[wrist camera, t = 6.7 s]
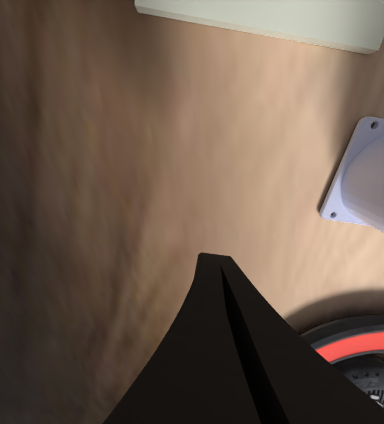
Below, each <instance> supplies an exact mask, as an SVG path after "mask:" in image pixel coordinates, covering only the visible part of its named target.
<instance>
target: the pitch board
mask: <svg viewBox="0 0 384 424" xmlns="http://www.w3.org/2000/svg"><path fill="white" fill-rule="evenodd" d="M135 7H136V9H137V11H138V13H144V14H149V15H155V16H160V17H166V18H171V19H177V20H182V21H187V22H193V23H198V24H204V25H209V26H215V27H220V28H226V29H231V30H237V31H242V32H248V33H253V34H259V35H264V36H270V37H275V38H281V39H286V40H292V41H297V42H302V43H308V44H313V45H319V46H324V47H330V48H335V49H341V50H346V51H352V52H357V53H363V54H371V53H373V52H376V51H378V50H379V48H380V46H381V43H382V41H383V38H384V0H135Z"/></svg>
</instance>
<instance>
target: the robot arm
mask: <svg viewBox="0 0 384 424" xmlns="http://www.w3.org/2000/svg"><path fill="white" fill-rule="evenodd" d="M373 122H374V126H373V128H371V124H372V123H373ZM333 212H334V214H333V215H332V216H330V215H331V213H333ZM319 215H320V217H322V218H323V219H326V220H333V221H340V222H347V223H354V224H362V225H369V226H372V227H374V228H375V229H377V230H379V231H381V232H383V233H384V119H383V118H377V117H363V118H361V119H360V120H359V122H358V123H357V126H356V128H355V130H354V133H353V135H352V137H351V140H350V142H349V144H348V147H347V149H346V151H345V154H344V156H343V158H342V161H341V163H340V165H339V168H338V170H337V172H336V175H335V177H334V179H333V182H332V184H331V187H330V189H329V191H328V194H327V196H326V198H325V201H324V203H323V205H322V208H321V210H320V213H319ZM103 424H384V408H383V407H382V406H381V405H379V404H378V403H377V402H376V401H375V400H373V399H372V398H371V397H370V396H368V395H367V394H366V393H365V392H363V391H362V390H361V389H360V388H358V387H357V386H356V385H355V384H354V383H353V382H351V381H350V380H349V379H348V378H347V377H346V376H344V375H343V374H342V373H341V372H340V371H338V370H337V369H336V368H335V367H334V366H333V365H331V364H330V363H329V362H328V361H327V360H326V359H325V358H324V357H322V356H321V355H320V354H319V353H318V352H317V351H316V350H315V349H314V348H312V347H311V346H310V345H309V344H308V343H307V342H306V341H305V340H304V339H303V338H302V337H301V336H300V335H299V334H298V333H297V332H296V331H295V330H294V329H293V328H292V327H291V326H290V325H289V324H288V323H287V322H286V321H285V320H284V319H283V318H282V317H281V316H280V315H279V314H278V313H277V312H276V311H275V310H274V308H273V307H272V306H271V305H270V304H269V303H268V302H267V301H266V300H265V298H264V297H263V296H262V295H261V294H260V293H259V291H258V290H257V289H256V288H255V287H254V285H253V284H252V283H251V282H250V281H249V279H248V278H247V277H246V275H245V274H244V273H243V272H242V270H241V269H240V268H239V267H238V265H237V264H236V263H235V261H234V260H233V259H232V258H231V256H224V255H216V254H209V253H200V254H199V255H198V260H197V265H196V270H195V275H194V280H193V282H192V285H191V288H190V290H189V292H188V294H187V296H186V298H185V301H184V303H183V305H182V307H181V309H180V311H179V313H178V314H177V316H176V318H175V320H174V322H173V323H172V325H171V327H170V328H169V330H168V332H167V333H166V335H165V337H164V338H163V340H162V341H161V343H160V345H159V346H158V348H157V349H156V351H155V352H154V354H153V355H152V357H151V358H150V360H149V361H148V363H147V364H146V366H145V367H144V369H143V370H142V371H141V373H140V374H139V375H138V377H137V378H136V380H135V381H134V382H133V384H132V385H131V387H130V388H129V389H128V391H127V392H126V393H125V395H124V396H123V398H122V399H121V400H120V402H119V403H118V404H117V406H116V407H115V408H114V410H113V411H112V412H111V414H110V415H109V416H108V417H107V419H106V420H105V421H104V422H103Z"/></svg>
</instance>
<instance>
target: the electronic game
mask: <svg viewBox="0 0 384 424" xmlns="http://www.w3.org/2000/svg"><path fill="white" fill-rule="evenodd" d="M300 336H301V337H302V338H303V339H304V340H305V341H306V342H307V343H308V344H309V345H310V346H311V347H312V348H314V349H315V350H316V351H317V352H318V353H319V354H320V355H321V356H322V357H324V358H325V359H326V360H327V361H328V362H329V363H330V364H331V365H333V366H334V367H335V368H336V369H337V370H338V371H340V372H341V373H342V374H343V375H344V376H346V377H347V378H348V379H349V380H350V381H351V382H353V383H354V384H355V385H356V386H357V387H358V388H360V389H361V390H362V391H363V392H365V393H366V394H367V395H368V396H370V397H371V398H372V399H373V400H375V401H376V402H377V403H378V404H379V405H381V406H382V407H383V408H384V360H383V359H381V358H379V357H377V356H375V355H372V354H371V353H384V315H364V316H353V317H347V318H342V319H337V320H334V321H330V322H327V323H324V324H321V325H319V326H316V327H314V328H312V329H310V330H308V331H306V332H304V333H302V334H301V335H300Z"/></svg>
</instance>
